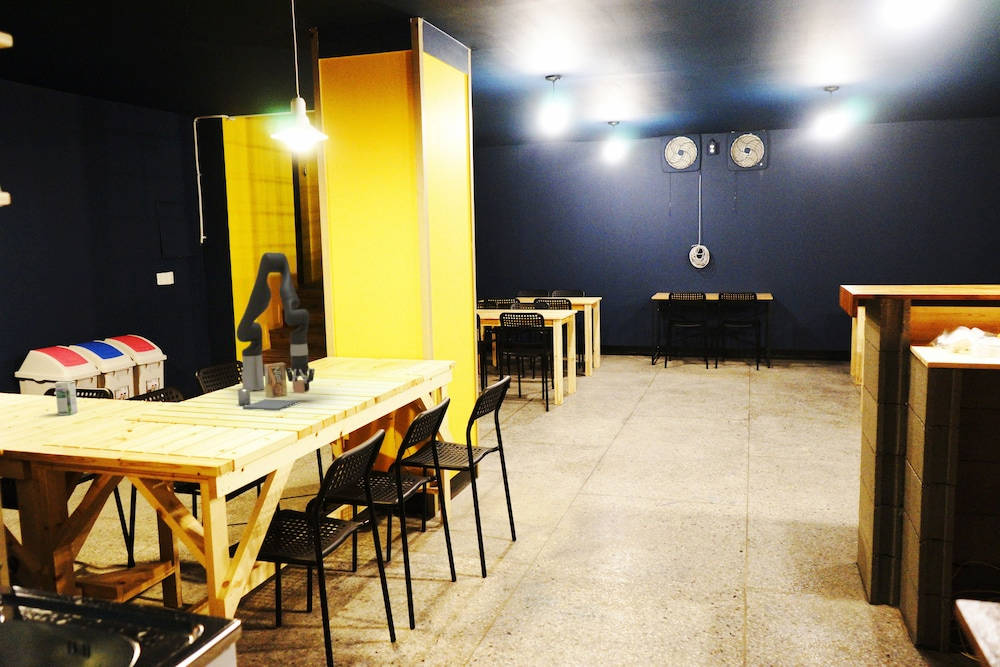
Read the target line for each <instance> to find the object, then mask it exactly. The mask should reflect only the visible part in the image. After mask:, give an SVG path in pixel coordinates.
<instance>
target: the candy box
mask: <svg viewBox="0 0 1000 667" xmlns="http://www.w3.org/2000/svg"><path fill="white" fill-rule="evenodd" d="M286 369H287V368H286V363H285V362H275V363H269V364H263V370H264V386H265V395H266V398H269V397H271V398H276V397H275V396H277V397H282V396H281V395H284V396H287V395H288V386H287V373H286ZM286 394H287V395H286Z"/></svg>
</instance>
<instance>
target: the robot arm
mask: <svg viewBox="0 0 1000 667" xmlns="http://www.w3.org/2000/svg"><path fill="white" fill-rule="evenodd" d="M271 273H275V274H276V273H278V274H280V275H281V278H282V279H281V283H280V287H279V296H280V299H281V301H282V304H283V309H284V319H285V320H284V321H285V323H286V324H287V325H288V326H291V327H292V326H298V328H297V329H294V330H293V331H290V333H289V334H290V336H289V339H290V347H289V348H290V363H291V366H290V367H287V368H286V378H287V380H288V382H291V383H292V384H293V382H294V381H297V380H299V377H301V378H302V379H301V380H304V382H305V383H304V386H305V391H308V390H309V391H310V382H311V383H312V382H313V381H314V378H315V368H310V367H309V349H308V342H307V341H308V340H307V339H308V338H307V333H308V328H309V323H310V317H311V316H310V313H309V311H308V310H307V309H305V308H301V309H297V308H298V307H299V306H300V299H299V296H298V295H297V292H296V290H295V286H294V283H293V279H292V273H291V268H290V264H289V261H288V258H287V256H286V255H285V253H281V252H265V253H263V254H262V256H261V258H260V262H259V267H258V271H257V276H256V279H255V282H254V285H253V286H252V291H251V292H250V296H249V299H248V302H247V305H246V308H245V310H244V313H243V315H242V318H241V319H240V322H239V324H238V326H237V329H236V338H237V340H238V341H239V342H241V343H249V342H250V344H249V345H248V346H247V347H246V348H245V347H244V348H243V349H242V350H241V355H242V356H241V357H242V370H241V380H242V383H241V384H242V389H243V388H249V389H250V392H254V391H253V390H258V391H262V390H261V389H263V390H265V376H264V364H263V346H264V345H263V329H262V326H261V324H260V323H259V322H257V321H256V320H257V319H258V318H259V317H260V316H262V314H263V313H264V312H265V311H266V310H267V309H268V307H269V304H270V303H271V300H272V294H273V293H272V290H271V287H270V285H269V282H268V277H269V275H270V274H271ZM255 321H256V322H255ZM309 391H308V392H309Z"/></svg>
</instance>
